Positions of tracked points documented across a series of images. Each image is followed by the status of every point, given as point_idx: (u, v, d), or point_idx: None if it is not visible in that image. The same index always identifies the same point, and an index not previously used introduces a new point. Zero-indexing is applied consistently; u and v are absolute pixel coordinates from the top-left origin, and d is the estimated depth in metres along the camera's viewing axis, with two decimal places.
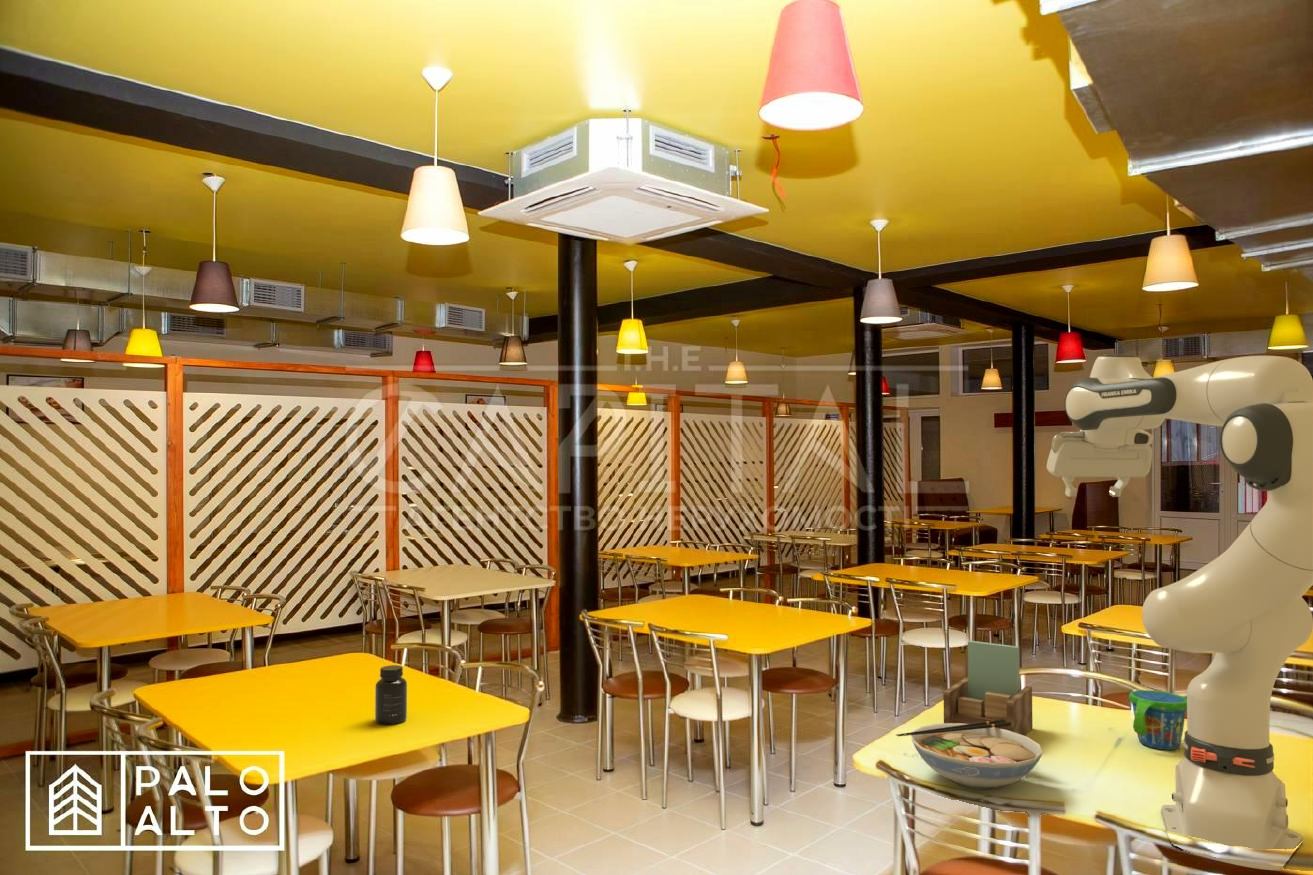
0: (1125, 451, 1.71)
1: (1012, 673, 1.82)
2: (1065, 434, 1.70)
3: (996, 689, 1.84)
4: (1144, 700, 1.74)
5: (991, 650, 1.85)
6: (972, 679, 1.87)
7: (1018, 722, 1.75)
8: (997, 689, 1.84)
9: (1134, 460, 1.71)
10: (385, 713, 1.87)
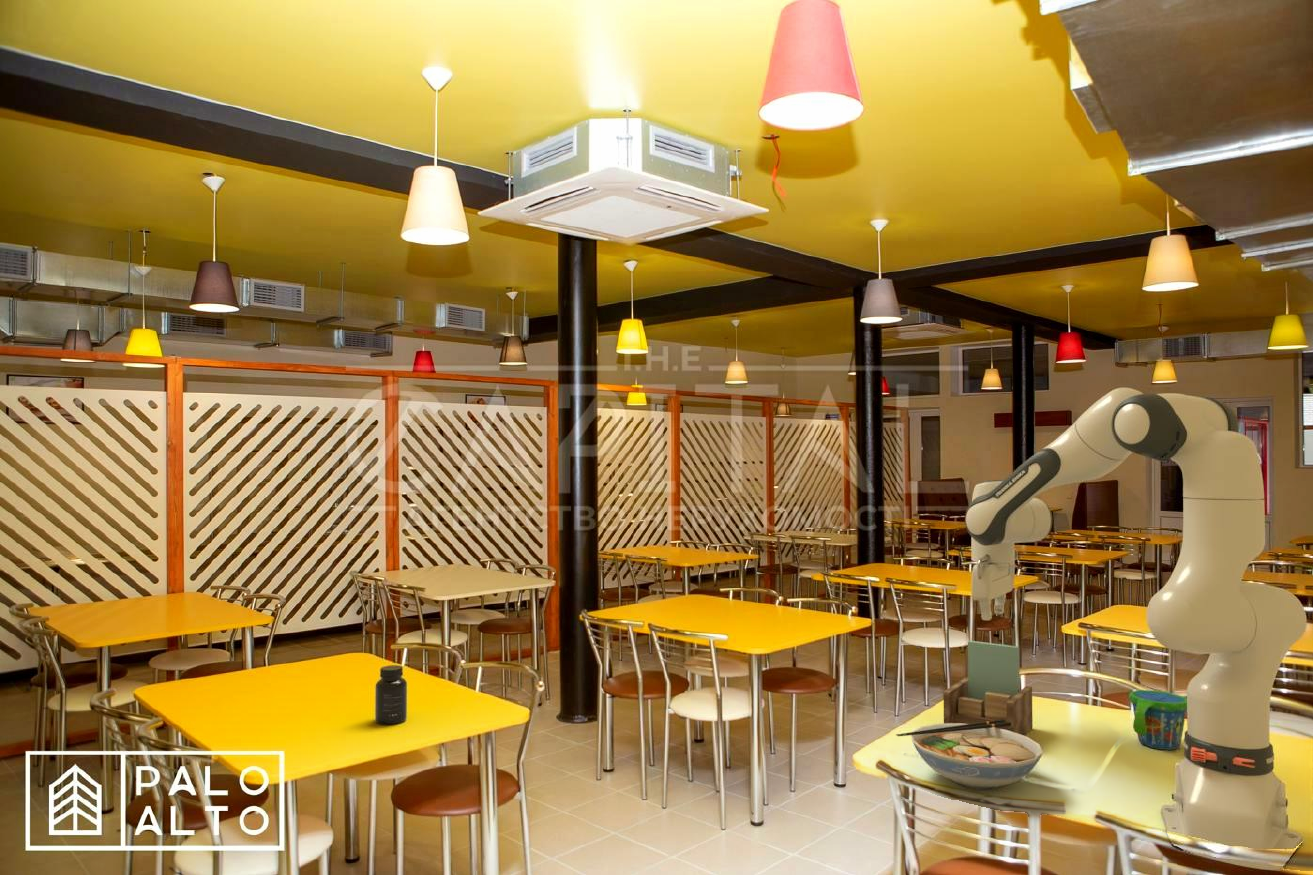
0: None
1: (1012, 673, 1.82)
2: (984, 559, 1.79)
3: (996, 689, 1.84)
4: (1144, 700, 1.74)
5: (991, 650, 1.85)
6: (972, 679, 1.87)
7: (1018, 722, 1.75)
8: (997, 689, 1.84)
9: (1008, 576, 1.90)
10: (385, 713, 1.87)
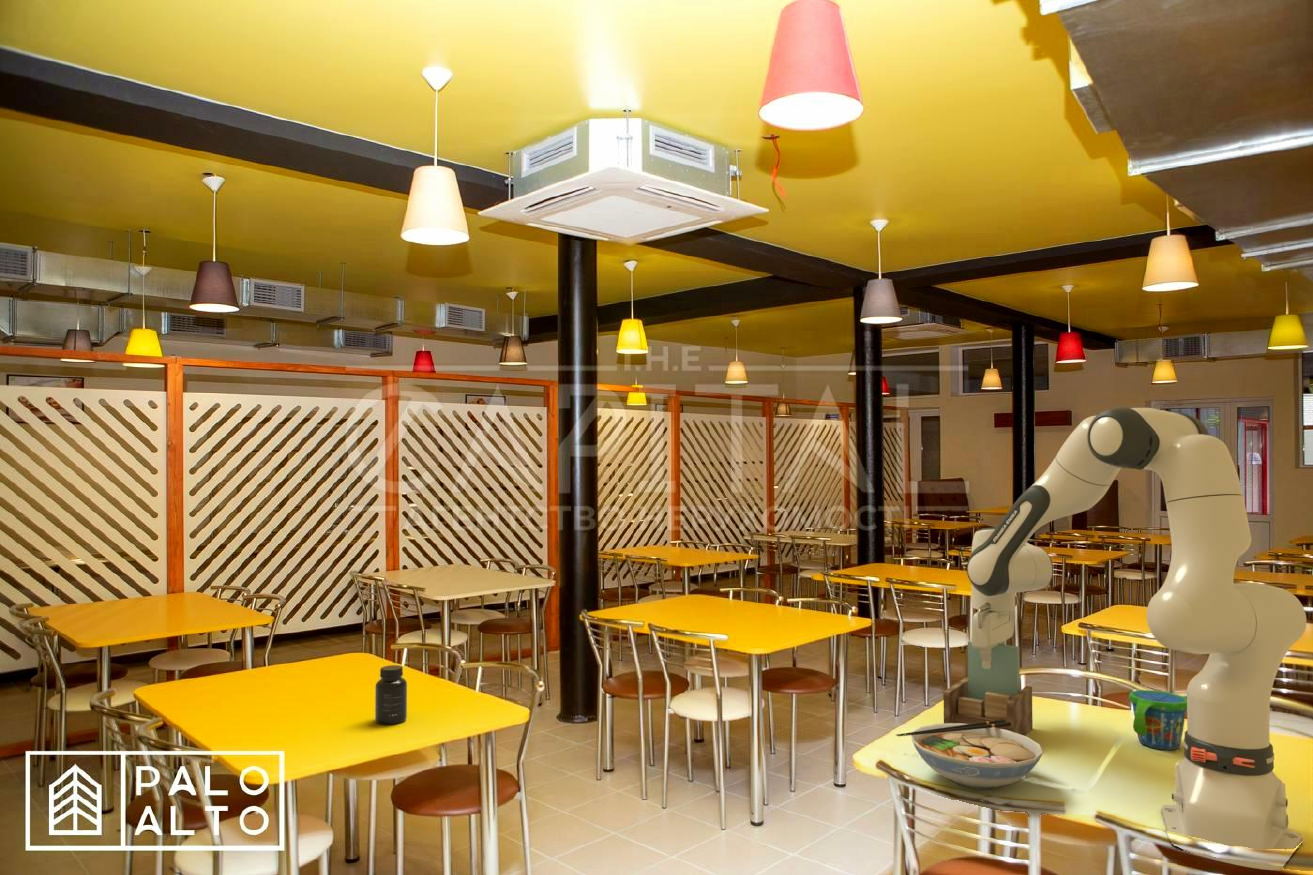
0: None
1: (1012, 673, 1.82)
2: (984, 607, 1.79)
3: (996, 689, 1.84)
4: (1144, 700, 1.74)
5: None
6: (972, 679, 1.87)
7: (1018, 722, 1.75)
8: (997, 689, 1.84)
9: (1009, 622, 1.90)
10: (385, 713, 1.87)
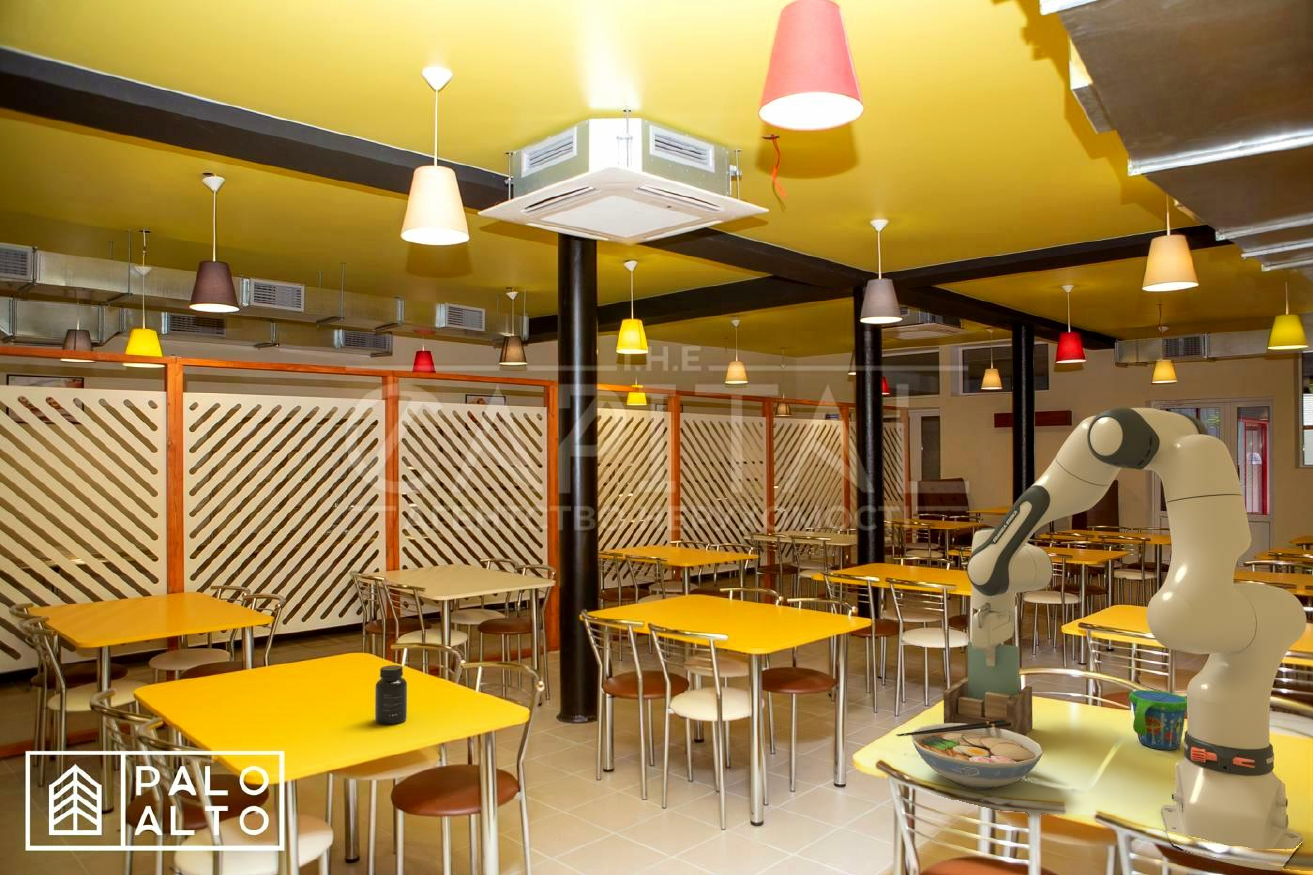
0: None
1: (1012, 673, 1.82)
2: (984, 608, 1.79)
3: (996, 689, 1.84)
4: (1144, 700, 1.74)
5: None
6: (972, 679, 1.87)
7: (1018, 722, 1.75)
8: (997, 689, 1.84)
9: (1009, 622, 1.90)
10: (385, 713, 1.87)
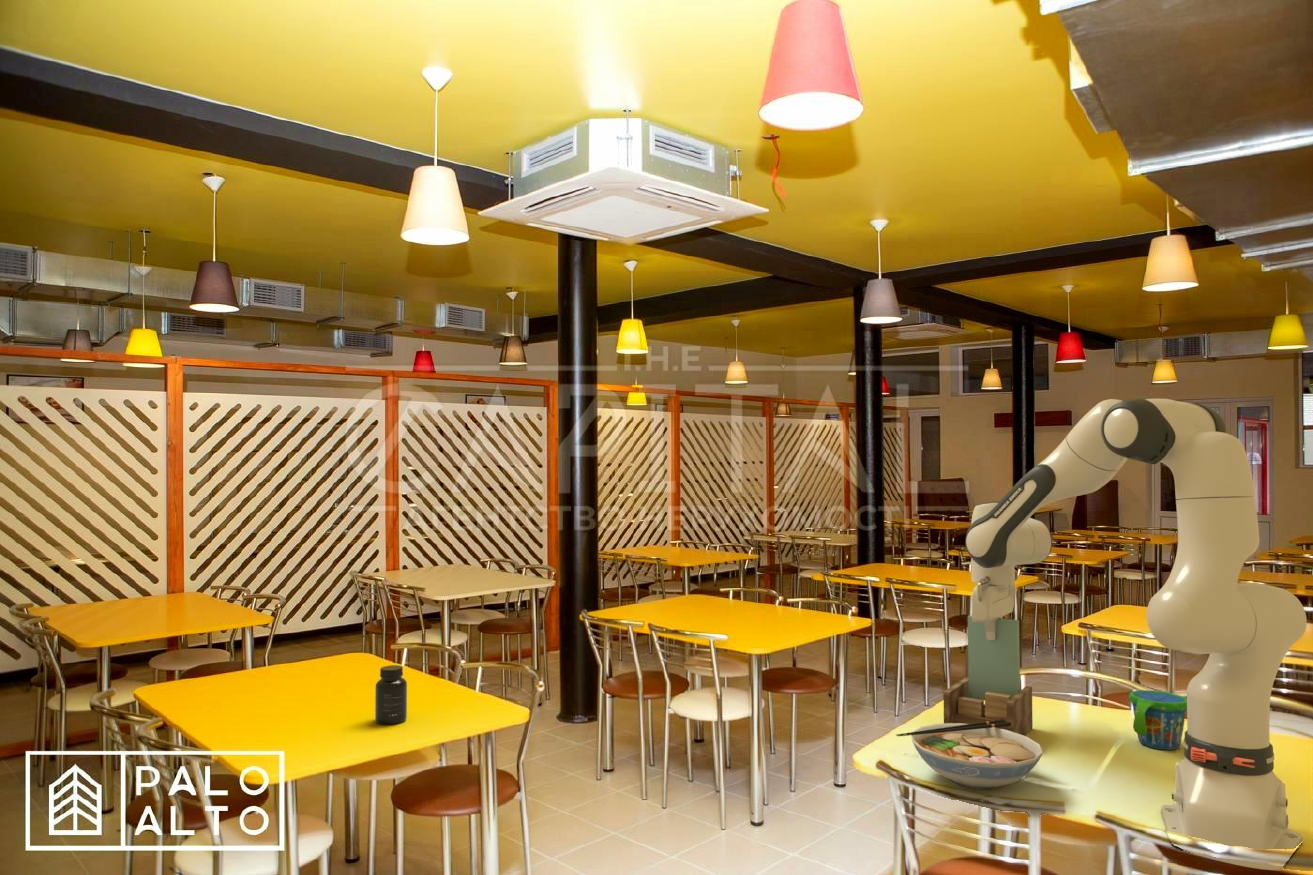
0: None
1: (1012, 647, 1.82)
2: (984, 581, 1.79)
3: (996, 663, 1.84)
4: (1144, 700, 1.74)
5: None
6: (972, 653, 1.87)
7: (1018, 722, 1.75)
8: (997, 663, 1.84)
9: (1009, 597, 1.90)
10: (385, 713, 1.87)
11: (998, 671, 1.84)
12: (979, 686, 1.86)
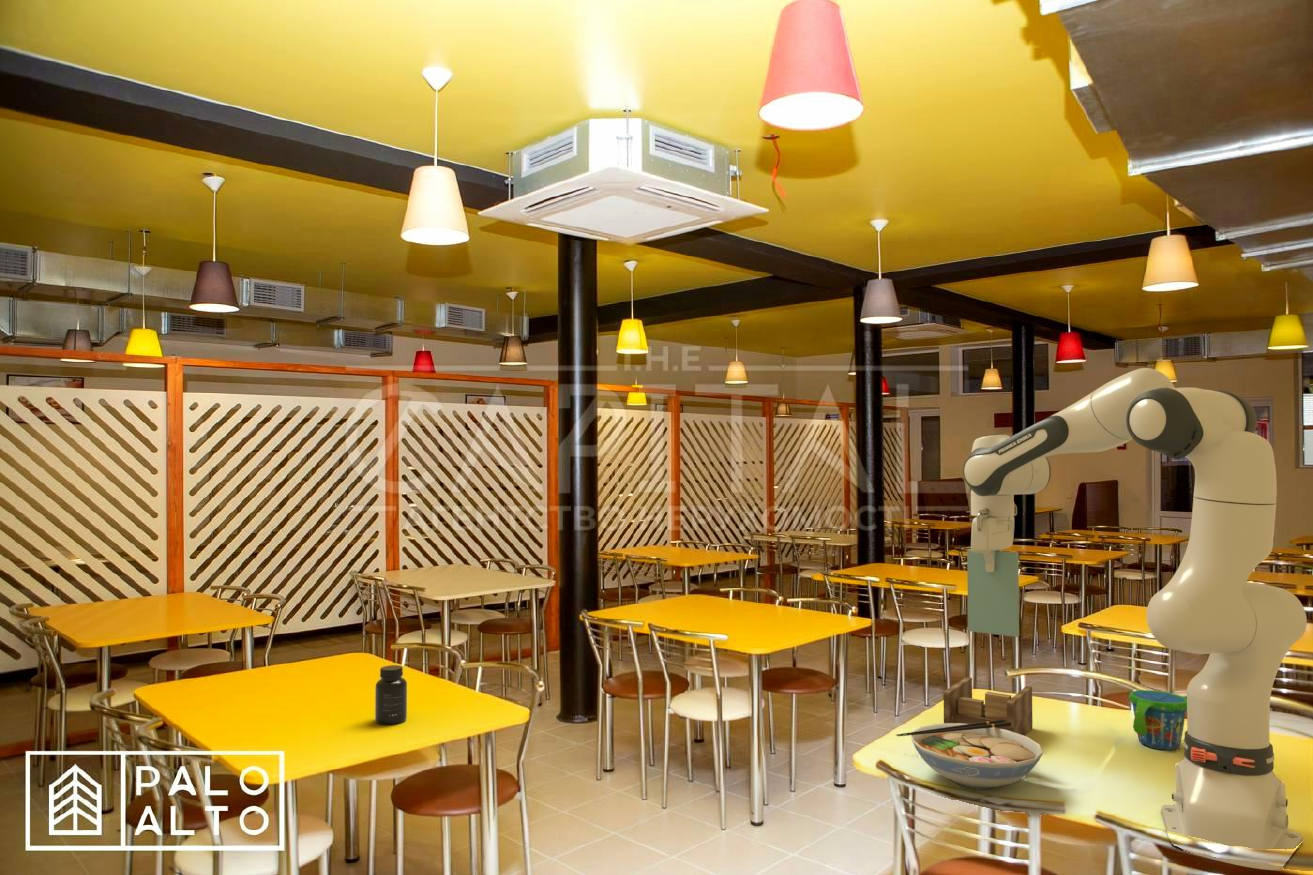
0: (1005, 523, 1.89)
1: (1011, 578, 1.83)
2: (983, 511, 1.80)
3: (995, 595, 1.85)
4: (1144, 700, 1.74)
5: None
6: (971, 586, 1.88)
7: (1018, 722, 1.75)
8: (996, 595, 1.85)
9: (1008, 531, 1.90)
10: (385, 713, 1.87)
11: (997, 603, 1.84)
12: (978, 619, 1.87)
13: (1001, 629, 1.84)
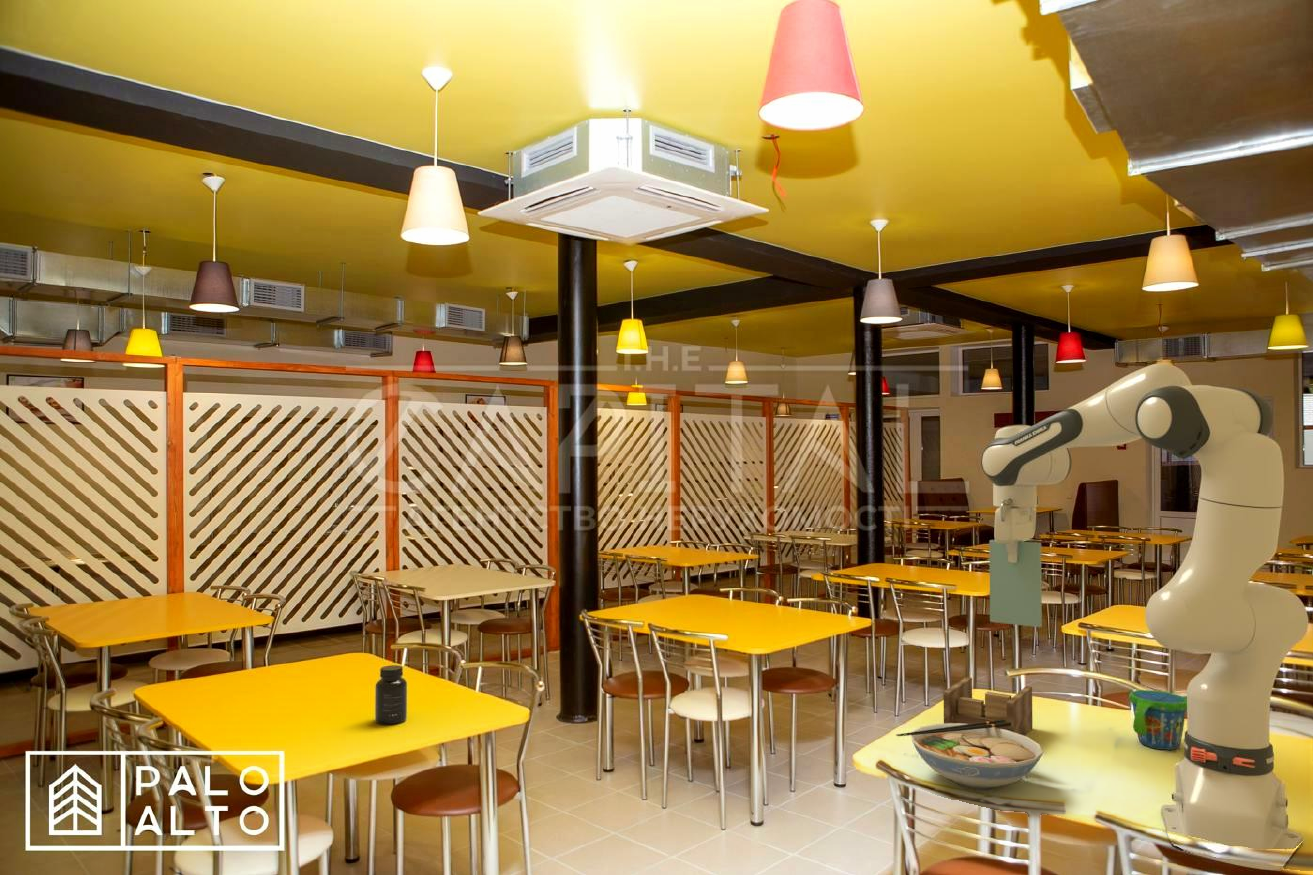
0: (1028, 514, 1.89)
1: (1034, 569, 1.83)
2: (1006, 502, 1.80)
3: (1018, 586, 1.85)
4: (1144, 700, 1.74)
5: None
6: (994, 577, 1.88)
7: (1018, 722, 1.75)
8: (1019, 586, 1.85)
9: (1030, 522, 1.90)
10: (385, 713, 1.87)
11: (1020, 594, 1.85)
12: (1000, 610, 1.87)
13: (1024, 619, 1.84)
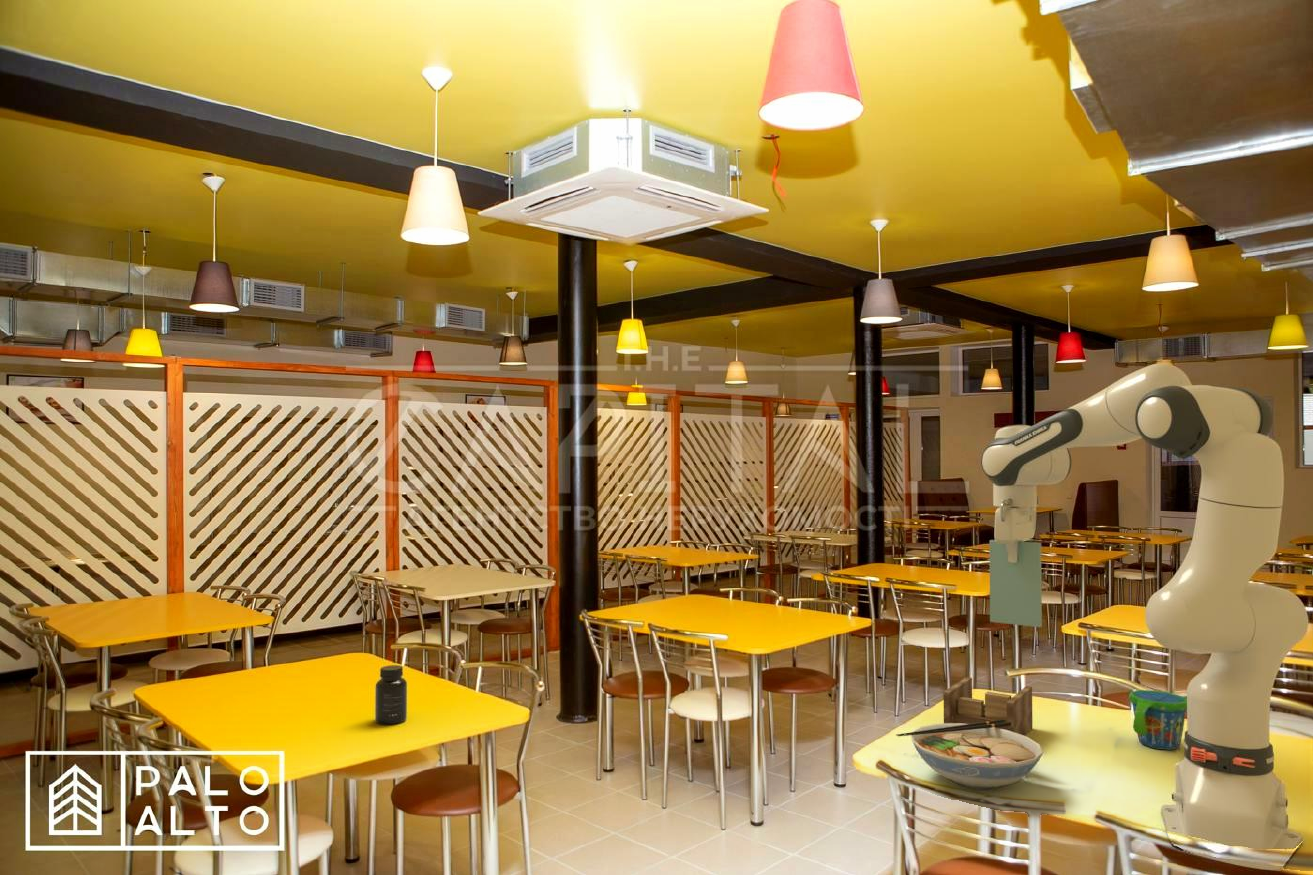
0: (1028, 514, 1.89)
1: (1034, 569, 1.83)
2: (1007, 502, 1.80)
3: (1018, 586, 1.85)
4: (1144, 700, 1.74)
5: None
6: (994, 577, 1.88)
7: (1018, 722, 1.75)
8: (1019, 586, 1.85)
9: (1030, 522, 1.90)
10: (385, 713, 1.87)
11: (1020, 594, 1.85)
12: (1000, 610, 1.87)
13: (1024, 619, 1.84)
